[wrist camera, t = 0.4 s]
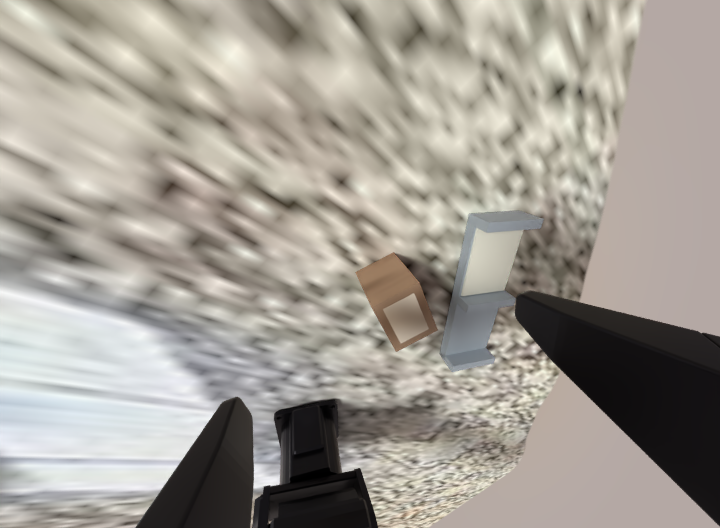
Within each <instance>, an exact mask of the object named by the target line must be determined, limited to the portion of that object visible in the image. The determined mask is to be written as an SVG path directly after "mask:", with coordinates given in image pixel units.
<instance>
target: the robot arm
mask: <svg viewBox="0 0 720 528" xmlns="http://www.w3.org/2000/svg"><path fill="white" fill-rule="evenodd" d="M515 316H516V319H517V320H518V322H519V323H520V324H521V325H522V326H523V328H524V329H525V330H526V331H527V332H528V334H529V335H530V336H531V337H532V338H533V339H534V341H535V342H536V343H537V344H538V345H539V346H540V348H541V349H542V350H543V351H544V352H545V354H546V355H547V356H548V357H549V358H550V359H551V360H552V361H553V362H554V363H555V364H556V365H557V366H558V367H559V368H560V369H561V370H562V371H563V372H564V373H565V374H566V375H567V376H568V377H569V378H570V379H571V380H572V381H573V382H574V383H575V384H576V385H577V386H578V387H579V388H580V389H581V390H582V391H583V392H584V393H585V394H586V395H587V396H588V397H589V398H590V399H591V400H592V401H593V402H594V403H595V404H596V405H597V406H598V407H599V408H600V409H601V410H602V411H603V412H604V413H605V414H607V416H608V417H609V418H610V419H611V420H612V421H613V422H614V423H615V424H616V425H617V426H618V427H619V428H620V429H621V430H622V431H624V433H625V434H626V435H628V436H629V437H630V438H631V439H632V440H633V441H634V442H635V443H636V444H637V445H638V446H639V447H640V448H641V449H642V450H643V451H644V452H645V453H646V454H647V455H648V456H649V457H650V458H651V459H652V460H653V461H654V462H655V463H656V464H657V465H658V466H659V467H660V468H661V469H662V470H663V471H664V472H665V473H666V474H667V475H668V476H669V477H670V478H671V479H672V480H673V481H674V482H675V483H676V484H677V485H678V486H679V487H680V488H681V489H682V490H683V491H684V492H685V493H686V494H687V495H688V496H689V497H690V498H691V499H692V500H693V501H695V502H696V503H697V504H698V506H700V507H701V508H702V510H704V511H705V512H706V513H707V514H708V515H709V516H710V517H711V518H712V519H713V520H714V521H715V522H716V523H717V524H718V525H719V526H720V337H719V336H715V335H711V334H707V333H700V332H698V331H695V330H690V329H686V328H682V327H678V326H674V325H670V324H666V323H662V322H658V321H653V320H650V319H645V318H641V317H637V316H633V315H629V314H625V313H621V312H616V311H612V310H608V309H604V308H600V307H596V306H592V305H588V304H584V303H580V302H576V301H572V300H568V299H564V298H560V297H555V296H551V295H547V294H543V293H539V292H535V291H526V292H523V293H520V294H518V295H517V297H516V306H515ZM274 421H275V425H276V430H277V434H278V439H279V443H280V448H281V461H280V485H276V486H271V487H270V485H269V486H264V490H263V494H262V495H261V496H260V497H258V498H257V499H255V506H254V516H253V525H252V528H378V525H377V521H376V517H375V513H374V510H373V507H372V504H371V500H370V497H369V494H368V491H367V488H366V485H365V482H364V478H363V475H362V472H361V469H360V468H358V469H354V471H349V472H344V473H342V469H341V463H340V456H339V449H338V443H337V438H338V436H339V435H338V412H337V402H336V401H335V400H330V401H326V402H321V403H316V404H311V405H307V406H302V407H297V408H292V409H288V410H283V411H278V412H276V413H275V414H274ZM253 482H254V462H253V420H252V415H251V413H250V411H249V410H248V408H247V407H246V406H245V404H244V403H243V401H242V400H241V399H240V398H239V397H234V398H232V399H229V400H226V401H224V402H223V403H222V404H221V405H220V406H219V407H218V409H217V410H216V412H215V413H214V415H213V416H212V418H211V419H210V420H209V422H208V423H207V425H206V426H205V428H204V429H203V431H202V432H201V433H200V435H199V436H198V438H197V439H196V441H195V442H194V444H193V445H192V446H191V448H190V449H189V451H188V452H187V454H186V455H185V457H184V458H183V459H182V461H181V462H180V464H179V465H178V467H177V468H176V470H175V471H174V472H173V474H172V475H171V477H170V478H169V480H168V481H167V483H166V484H165V485H164V487H163V488H162V490H161V491H160V493H159V494H158V496H157V497H156V498H155V500H154V501H153V503H152V504H151V506H150V507H149V509H148V510H147V511H146V513H145V514H144V516H143V517H142V519H141V520H140V522H139V523H138V524H137V526H136V527H135V528H250V523H251V511H252V498H253ZM271 520H272V522H271V523H270V524H269V521H271Z"/></svg>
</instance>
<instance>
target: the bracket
mask: <svg viewBox="0 0 720 528" xmlns="http://www.w3.org/2000/svg"><path fill="white" fill-rule="evenodd" d="M543 220H544V219H542V218H540V217H537V216H534V215H531V214H528V213H525V212H522V211H504V212H487V213H471V214H469V217H468V222H467V226H466V231H465V236H464V241H463V245H462V250H461V255H460V260H459V264H458V269H457V274H456V279H455V283H454V288H453V293H452V298H451V302H450V307H449V312H448V316H447V321H446V326H445V331H444V335H443V340H442V345H441V350H440V355H441V357H442V358H443V360H444V361H445V363H446V364H447V366H448V367H449V369H450V370H451V372H454V371H459V370H464V369H469V368H473V367H478V366H483V365H488V364H493V363H494V360H495V357H494V356H493V355H492V354H491V353H490V352H489V350H488V349H487V348H486V346H487V343H488V340H489V337H490V334H491V330H492V327H493V324H494V321H495V318H496V315H497V312H498V308H501V307H508V306H514V303H515V300H516V298H515V297H513V296H512V295H511V294H509V293H508V292H506V291H505V287H506V284H507V281H508V277H509V274H510V271H511V268H512V265H513V262H514V259H515V256H516V252H517V249H518V246H519V243H520V240H521V237H522V234H523V230H529V229H540V228H541V226H542V223H543Z"/></svg>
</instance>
